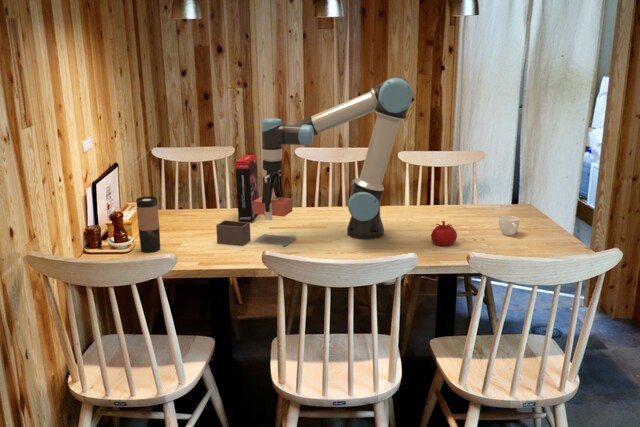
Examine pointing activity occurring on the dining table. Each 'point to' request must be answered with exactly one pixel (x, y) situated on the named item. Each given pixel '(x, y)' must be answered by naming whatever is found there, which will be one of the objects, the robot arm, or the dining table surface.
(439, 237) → the pomegranate
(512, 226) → the cup
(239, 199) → the graphics card box
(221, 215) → the dining table surface
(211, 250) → the dining table surface
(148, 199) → the travel mug
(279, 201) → the lid
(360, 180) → the robot arm
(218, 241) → the lacquer box
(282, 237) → the mat
